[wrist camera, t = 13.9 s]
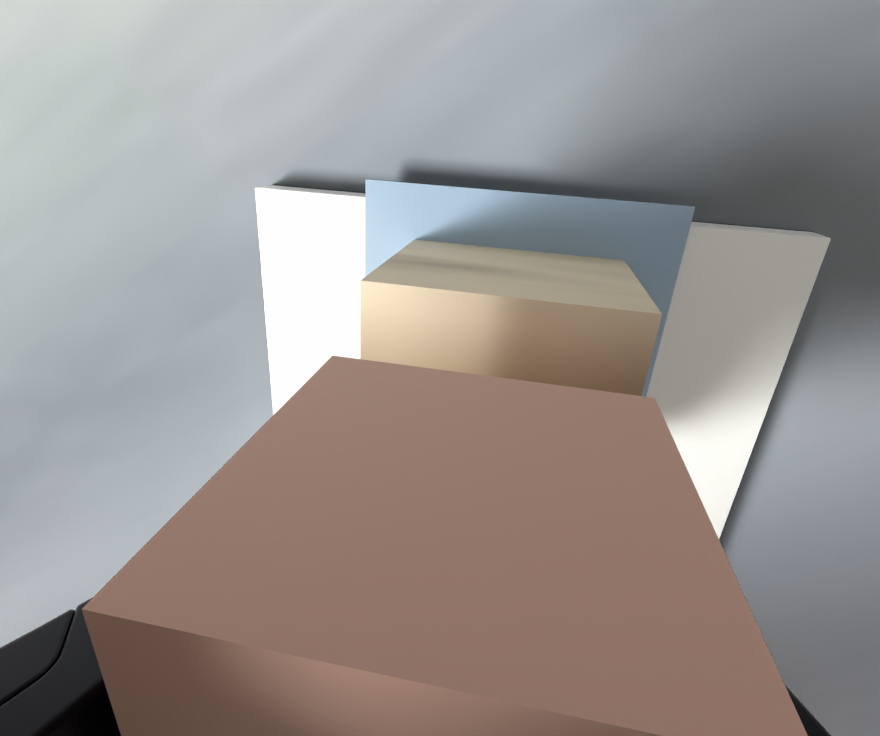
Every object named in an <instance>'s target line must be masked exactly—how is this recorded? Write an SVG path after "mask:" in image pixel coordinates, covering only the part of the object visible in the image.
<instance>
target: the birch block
mask: <svg viewBox="0 0 880 736" xmlns="http://www.w3.org/2000/svg"><path fill="white" fill-rule="evenodd" d="M661 317H662V313H661V312H660V310H659V309H658V307H657V306H656V305H655V303H654V302H653V300H652V299H651V297H650V296H649V295H648V293H647V292H646V290H645V289H644V288H643V286H642V285H641V283H640V282H639V280H638V279H637V278H636V276H635V275H634V273H633V272H632V271H631V269H630V268H629V266H628V265H627V264H626V262H625V261H624V260H616V259H606V258H596V257H586V256H576V255H566V254H556V253H545V252H535V251H525V250H515V249H505V248H495V247H485V246H475V245H464V244H454V243H444V242H434V241H424V240H413V241H412V242H411V243H409V244H408V245H407V246H405V247H404V248H403V249H401V250H400V251H399V252H397V253H396V254H395V255H393V256H392V257H391V258H389V259H388V260H387V261H385V262H384V263H383V264H381V265H380V266H379V267H378V268H376V269H375V270H374V271H372V272H371V273H370V274H368V275H367V276H366V277H364V278H363V279H362V280H360V359H363V360H370V361H378V362H386V363H393V364H401V365H409V366H416V367H424V368H431V369H439V370H447V371H454V372H462V373H469V374H477V375H485V376H492V377H500V378H507V379H515V380H523V381H530V382H538V383H545V384H553V385H561V386H568V387H576V388H584V389H591V390H599V391H606V392H614V393H622V394H629V395H637V396H642V392H643V388H644V384H645V380H646V376H647V372H648V368H649V364H650V360H651V357H652V353H653V349H654V345H655V341H656V337H657V333H658V329H659V325H660V321H661Z"/></svg>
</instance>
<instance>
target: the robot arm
mask: <svg viewBox="0 0 880 736" xmlns="http://www.w3.org/2000/svg"><path fill="white" fill-rule="evenodd" d="M91 599H92V598H91ZM91 599H89V600H87V601H86V602H84V603H82V604H80V605H79V606H78V607H77V608H76V611H75V610H69V611H67V612H65V613H64V614H62V615H60V616H58V617H56V618H55V619H53V620H51V621H49V622H47V623H46V624H44V625H42V626H40V627H38V628H36V629H35V630H33V631H31V632H29V633H27V634H25V635H23V636H21V637H20V638H18V639H16V640H14V641H12V642H10V643H8V644H6V645H5V646H3V647H1V648H0V736H121V734H120V731H119V728H118V725H117V721H116V718H115V715H114V712H113V708H112V705H111V702H110V699H109V696H108V692H107V689H106V686H105V683H104V680H103V676H102V673H101V670H100V667H99V664H98V660H97V657H96V654H95V651H94V648H93V644H92V641H91V638H90V635H89V632H88V628H87V625H86V622H85V619H84V615H83V612H82V608H83V607H84V606H85V605H86V604H87V603H88V602H89V601H90V600H91ZM785 687H786V689H787V691H788V693H789V695H790V698H791V700H792V702H793V704H794V706H795V709H796V711H797V713H798V715H799V717H800V720H801V722H802V724H803V726H804V729H805V731H806V733H807V735H808V736H831V735H830V734H829V733H828V732H827V730H826V729H825V728H824V727H823V726H822V725H821V724H820V723H819V722H818V721H817V719H816V718H815V717H814V716H813V715H812V714H811V713H810V712H809V711H808V710H807V708H806V707H805V706H804V705H803V704H802V703H801V702H800V701H799V700H798V699H797V697H796V696H795V695H794V694H793V693H792V692H791V691H790V690H789V689H788V688H787V686H786V685H785Z"/></svg>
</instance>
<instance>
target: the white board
mask: <svg viewBox="0 0 880 736" xmlns="http://www.w3.org/2000/svg"><path fill="white" fill-rule="evenodd" d="M255 195H256V207H257V220H258V232H259V244H260V257H261V269H262V281H263V293H264V306H265V318H266V330H267V343H268V355H269V367H270V380H271V392H272V404H273V415H274V414H275V413H276V412H277V411H278V410H279V409H280V408H281V407H282V406H283V405H284V404H285V403H286V402H287V401H288V400H289V399H290V398H291V397H292V396H293V395H294V394H295V393H296V392H297V391H298V390H299V389H300V388H301V387H302V386H303V385H304V384H305V383H306V382H307V381H308V380H309V379H310V378H311V377H312V376H313V375H314V374H315V373H316V372H317V371H318V370H319V369H320V368H321V367H322V366H323V365H324V364H325V363H326V362H327V361H328V359H329V358H330V357H331V356H340V357H348V358H355V359H360V280H362V279H363V278H364V277H366V276H367V275H368V274H370V273H371V272H372V271H374V270H375V269H376V268H378V267H379V266H380V265H381V264H383V263H384V262H385V261H387V260H388V259H389V258H391V257H392V256H393V255H395V254H396V253H397V252H399V251H400V250H401V249H403V248H404V247H405V246H407V245H408V244H409V243H411V242H412V241H413V240H424V241H434V242H444V243H454V244H464V245H475V246H485V247H495V248H505V249H515V250H525V251H535V252H545V253H556V254H566V255H576V256H586V257H596V258H606V259H616V260H624V261H625V262H626V264H627V265H628V266H629V268H630V269H631V271H632V272H633V273H634V275H635V276H636V278H637V279H638V280H639V282H640V283H641V285H642V286H643V288H644V289H645V290H646V292H647V293H648V295H649V296H650V297H651V299H652V300H653V302H654V303H655V305H656V306H657V307H658V309H659V310H660V312H661V313H662V317H661V321H660V325H659V329H658V333H657V337H656V341H655V345H654V349H653V353H652V357H651V360H650V364H649V368H648V372H647V376H646V380H645V384H644V388H643V392H642V396H644V397H652V398H655V400H656V402H657V404H658V406H659V408H660V411H661V413H662V415H663V417H664V419H665V422H666V424H667V426H668V428H669V430H670V433H671V435H672V437H673V439H674V441H675V444H676V446H677V448H678V450H679V453H680V455H681V457H682V459H683V461H684V464H685V466H686V468H687V470H688V472H689V475H690V477H691V479H692V481H693V483H694V486H695V488H696V490H697V492H698V494H699V497H700V499H701V501H702V503H703V505H704V508H705V510H706V512H707V514H708V517H709V519H710V521H711V523H712V525H713V528H714V530H715V532H716V534H717V536H718V539H719V538H720V535H721V533H722V530H723V527H724V525H725V522H726V519H727V516H728V514H729V511H730V508H731V506H732V503H733V500H734V498H735V495H736V492H737V490H738V487H739V484H740V482H741V479H742V476H743V474H744V471H745V468H746V466H747V463H748V460H749V457H750V455H751V452H752V449H753V447H754V444H755V441H756V439H757V436H758V433H759V431H760V428H761V425H762V423H763V420H764V417H765V415H766V412H767V409H768V407H769V404H770V401H771V398H772V396H773V393H774V390H775V388H776V385H777V382H778V380H779V377H780V374H781V372H782V369H783V366H784V364H785V361H786V358H787V356H788V353H789V350H790V347H791V345H792V342H793V339H794V337H795V334H796V331H797V329H798V326H799V323H800V321H801V318H802V315H803V313H804V310H805V307H806V305H807V302H808V299H809V297H810V294H811V291H812V288H813V286H814V283H815V280H816V278H817V275H818V272H819V270H820V267H821V264H822V262H823V259H824V256H825V254H826V251H827V248H828V246H829V243H830V240H831V238H829V237H826V236H823V235H820V234H817V233H814V232H804V231H793V230H781V229H770V228H758V227H747V226H735V225H724V224H712V223H701V222H692V218H693V214H694V210H695V206H683V205H671V204H659V203H647V202H635V201H623V200H611V199H599V198H587V197H575V196H563V195H551V194H539V193H527V192H514V191H502V190H490V189H478V188H466V187H454V186H442V185H430V184H418V183H406V182H394V181H382V180H370V179H365V193H355V192H344V191H332V190H321V189H309V188H298V187H286V186H275V185H268V186H262V187H255Z"/></svg>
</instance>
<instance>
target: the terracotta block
mask: <svg viewBox="0 0 880 736" xmlns="http://www.w3.org/2000/svg"><path fill="white" fill-rule="evenodd" d="M82 612H83V615H84V619H85V622H86V625H87V628H88V632H89V635H90V638H91V641H92V644H93V648H94V651H95V654H96V657H97V660H98V664H99V667H100V670H101V673H102V676H103V680H104V683H105V686H106V689H107V692H108V696H109V699H110V702H111V705H112V708H113V712H114V715H115V718H116V721H117V725H118V728H119V731H120V734H121V736H808V735H807V733H806V731H805V729H804V726H803V724H802V722H801V720H800V717H799V715H798V713H797V711H796V709H795V706H794V704H793V702H792V700H791V698H790V695H789V693H788V691H787V689H786V687H785V684H784V682H783V680H782V678H781V676H780V673H779V671H778V669H777V667H776V664H775V662H774V660H773V658H772V656H771V653H770V651H769V649H768V647H767V645H766V642H765V640H764V638H763V636H762V634H761V631H760V629H759V627H758V625H757V623H756V620H755V618H754V616H753V614H752V611H751V609H750V607H749V605H748V603H747V600H746V598H745V596H744V594H743V592H742V589H741V587H740V585H739V583H738V581H737V578H736V576H735V574H734V572H733V570H732V567H731V565H730V563H729V561H728V558H727V556H726V554H725V552H724V550H723V547H722V545H721V543H720V541H719V539H718V536H717V534H716V532H715V530H714V528H713V525H712V523H711V521H710V519H709V517H708V514H707V512H706V510H705V508H704V505H703V503H702V501H701V499H700V497H699V494H698V492H697V490H696V488H695V486H694V483H693V481H692V479H691V477H690V475H689V472H688V470H687V468H686V466H685V464H684V461H683V459H682V457H681V455H680V453H679V450H678V448H677V446H676V444H675V441H674V439H673V437H672V435H671V433H670V430H669V428H668V426H667V424H666V422H665V419H664V417H663V415H662V413H661V411H660V408H659V406H658V404H657V402H656V400H655V398H652V397H644V396H637V395H629V394H622V393H614V392H606V391H599V390H591V389H584V388H576V387H568V386H561V385H553V384H545V383H538V382H530V381H523V380H515V379H507V378H500V377H492V376H485V375H477V374H469V373H462V372H454V371H447V370H439V369H431V368H424V367H416V366H409V365H401V364H393V363H386V362H378V361H370V360H363V359H355V358H348V357H340V356H331V357H330V358H329V359H328V361H327V362H326V363H325V364H324V365H323V366H322V367H321V368H320V369H319V370H318V371H317V372H316V373H315V374H314V375H313V376H312V377H311V378H310V379H309V380H308V381H307V382H306V383H305V384H304V385H303V386H302V387H301V388H300V389H299V390H298V391H297V392H296V393H295V394H294V395H293V396H292V397H291V398H290V399H289V400H288V401H287V402H286V403H285V404H284V405H283V406H282V407H281V408H280V409H279V410H278V411H277V412H276V413H275V414H274V415H273V416H272V417H271V418H270V419H269V420H268V421H267V422H266V423H265V424H264V425H263V426H262V427H261V428H260V429H259V430H258V431H257V432H256V433H255V434H254V435H253V436H252V437H251V438H250V439H249V440H248V441H247V442H246V443H245V444H244V445H243V446H242V447H241V448H240V449H239V450H238V451H237V452H236V453H235V455H234V456H233V457H232V458H231V459H230V460H229V461H228V462H227V463H226V464H225V465H224V466H223V467H222V468H221V469H220V470H219V471H218V472H217V473H216V474H215V475H214V476H213V477H212V478H211V479H210V480H209V481H208V482H207V483H206V484H205V485H204V486H203V487H202V488H201V489H200V490H199V491H198V492H197V493H196V494H195V495H194V496H193V497H192V498H191V499H190V500H189V501H188V502H187V503H186V504H185V505H184V506H183V507H182V508H181V509H180V510H179V511H178V512H177V513H176V514H175V515H174V516H173V517H172V518H171V519H170V520H169V521H168V522H167V523H166V524H165V525H164V526H163V527H162V528H161V529H160V530H159V531H158V532H157V533H156V534H155V535H154V536H153V537H152V538H151V539H150V540H149V541H148V542H147V543H146V544H145V545H144V546H143V547H142V548H141V550H140V551H139V552H138V553H137V554H136V555H135V556H134V557H133V558H132V559H131V560H130V561H129V562H128V563H127V564H126V565H125V566H124V567H123V568H122V569H121V570H120V571H119V572H118V573H117V574H116V575H115V576H114V577H113V578H112V579H111V580H110V581H109V582H108V583H107V584H106V585H105V586H104V587H103V588H102V589H101V590H100V591H99V592H98V593H97V594H96V595H95V596H94V597H93V598H92V599H91V600H90V601H89V602H88V603H87V604H86V605H85V606H84V607H83V608H82Z"/></svg>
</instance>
